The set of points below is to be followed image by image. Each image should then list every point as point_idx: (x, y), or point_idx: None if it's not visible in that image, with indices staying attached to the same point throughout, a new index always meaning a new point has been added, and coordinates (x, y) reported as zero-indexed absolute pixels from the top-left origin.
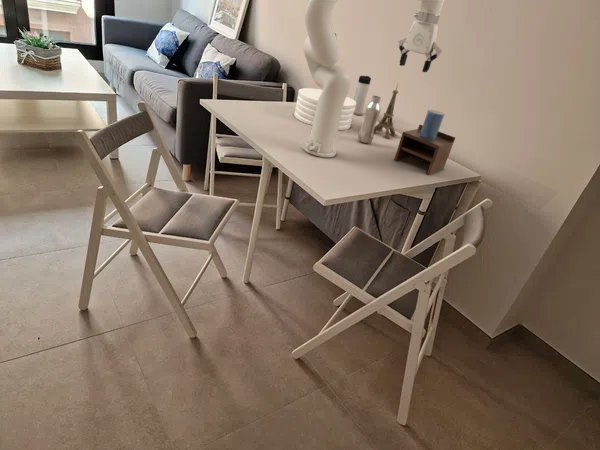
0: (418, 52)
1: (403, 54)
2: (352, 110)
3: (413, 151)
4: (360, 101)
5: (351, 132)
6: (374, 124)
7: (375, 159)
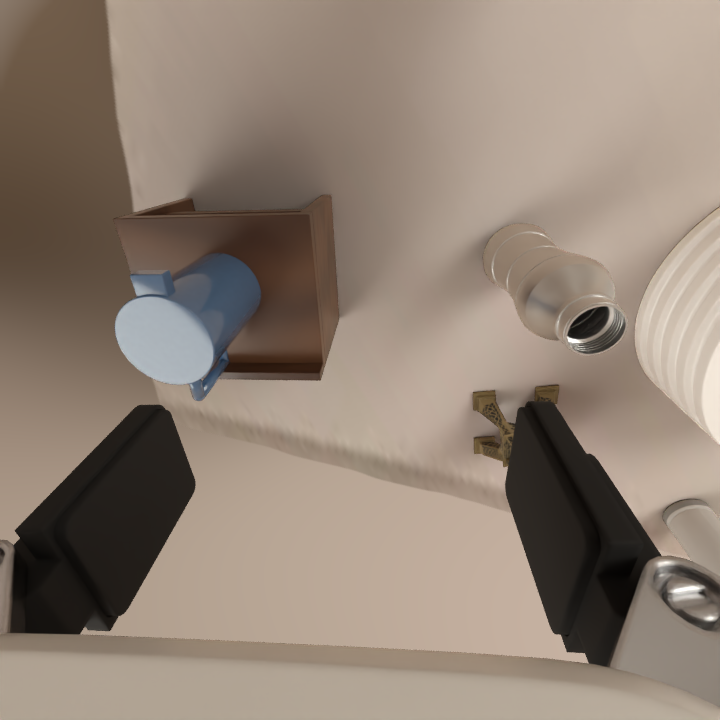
0: (127, 647)
1: (623, 568)
2: (685, 364)
3: (251, 212)
4: (710, 547)
5: None
6: (506, 275)
7: (367, 97)
